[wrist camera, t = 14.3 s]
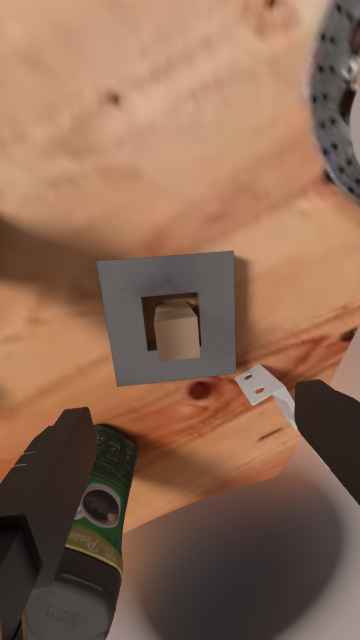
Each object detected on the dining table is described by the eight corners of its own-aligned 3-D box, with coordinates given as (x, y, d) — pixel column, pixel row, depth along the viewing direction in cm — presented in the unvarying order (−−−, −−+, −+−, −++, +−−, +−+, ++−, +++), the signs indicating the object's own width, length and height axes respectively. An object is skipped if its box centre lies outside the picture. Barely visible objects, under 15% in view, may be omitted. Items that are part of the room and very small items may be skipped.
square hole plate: (226, 252, 28) (233, 250, 26) (229, 363, 32) (236, 373, 29) (103, 262, 28) (96, 261, 25) (121, 375, 31) (117, 386, 28)
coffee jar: (65, 450, 34) (-46, 661, 16) (94, 414, 33) (10, 595, 15) (117, 477, 36) (72, 692, 18) (146, 444, 35) (130, 636, 17)
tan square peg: (185, 300, 30) (197, 317, 20) (188, 328, 31) (200, 357, 21) (156, 304, 29) (153, 321, 20) (159, 332, 30) (158, 362, 21)
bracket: (232, 375, 34) (255, 409, 24) (256, 361, 34) (289, 389, 24) (267, 430, 35) (302, 484, 25) (290, 417, 35) (335, 466, 25)
